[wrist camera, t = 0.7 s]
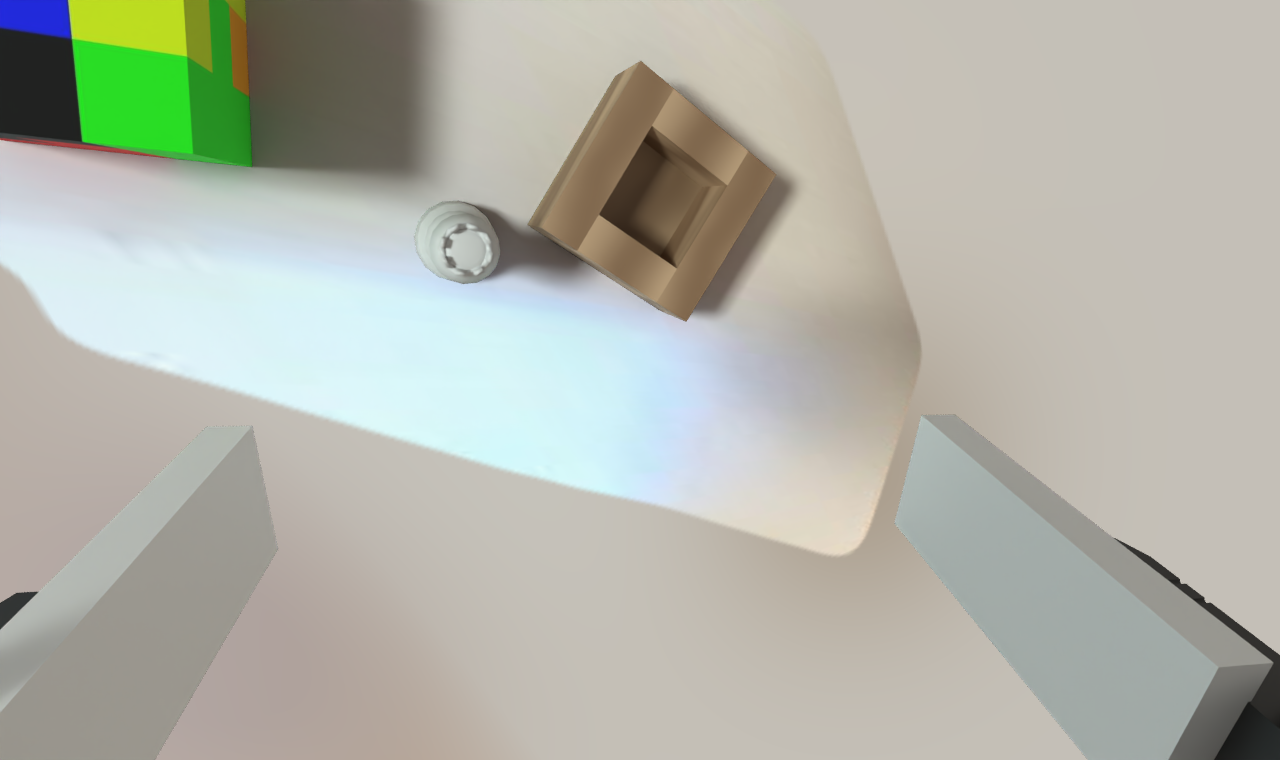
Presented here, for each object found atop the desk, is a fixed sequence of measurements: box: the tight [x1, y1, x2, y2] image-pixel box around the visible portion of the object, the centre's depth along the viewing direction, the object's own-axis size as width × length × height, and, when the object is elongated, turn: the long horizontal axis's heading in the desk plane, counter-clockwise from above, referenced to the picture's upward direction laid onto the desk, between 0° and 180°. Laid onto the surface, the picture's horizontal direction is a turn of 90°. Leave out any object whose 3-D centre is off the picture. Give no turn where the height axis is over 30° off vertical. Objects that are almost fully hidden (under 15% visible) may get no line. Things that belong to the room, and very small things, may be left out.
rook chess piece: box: [414, 201, 500, 284], centre depth 33 cm, size 4×4×8 cm
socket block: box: [528, 61, 776, 321], centre depth 38 cm, size 10×10×4 cm
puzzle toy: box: [0, 0, 252, 167], centre depth 26 cm, size 10×10×10 cm
